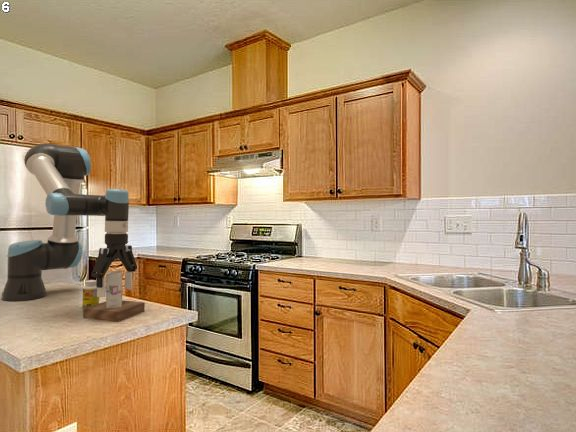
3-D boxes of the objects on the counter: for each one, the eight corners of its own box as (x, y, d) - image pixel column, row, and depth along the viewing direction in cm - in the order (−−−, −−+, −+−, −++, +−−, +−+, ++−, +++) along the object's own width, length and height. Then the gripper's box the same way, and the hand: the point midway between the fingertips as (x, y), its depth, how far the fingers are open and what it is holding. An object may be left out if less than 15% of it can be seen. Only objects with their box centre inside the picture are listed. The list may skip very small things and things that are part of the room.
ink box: (107, 303, 135) (107, 270, 135) (122, 302, 137) (122, 269, 137) (105, 308, 128) (105, 274, 127) (121, 307, 129) (121, 273, 129)
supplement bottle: (79, 308, 140) (79, 281, 140) (93, 305, 145) (93, 279, 145) (88, 310, 137) (88, 282, 137) (102, 307, 142) (102, 280, 142)
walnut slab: (83, 320, 128) (83, 308, 127) (112, 310, 141) (112, 299, 141) (118, 323, 124) (118, 311, 124) (144, 313, 138) (144, 302, 138)
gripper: (99, 235, 119) (97, 301, 120) (147, 231, 144) (146, 287, 144) (79, 234, 121) (78, 299, 121) (130, 231, 145) (129, 285, 146)
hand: (115, 293), depth 133 cm, fingers open, 13 cm apart
